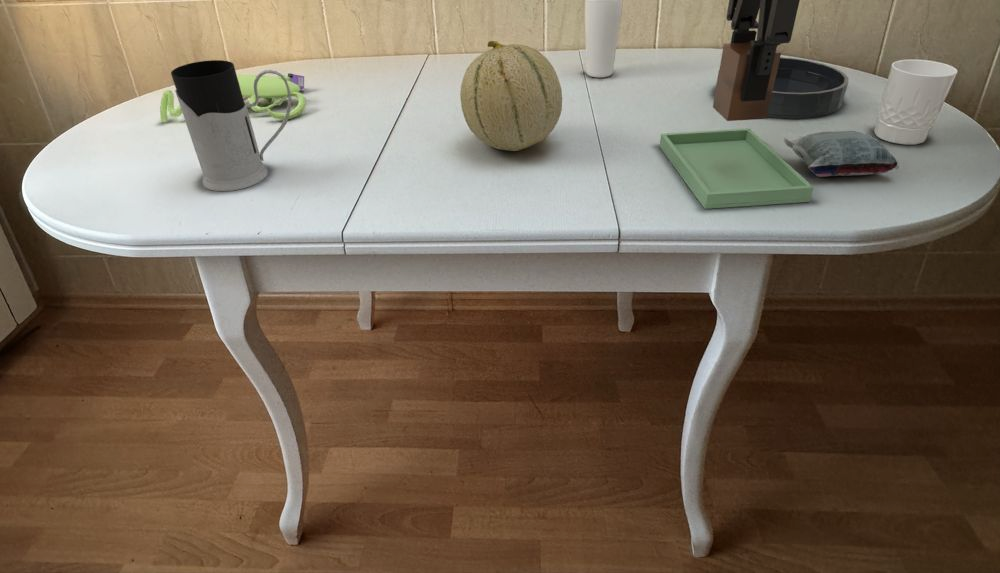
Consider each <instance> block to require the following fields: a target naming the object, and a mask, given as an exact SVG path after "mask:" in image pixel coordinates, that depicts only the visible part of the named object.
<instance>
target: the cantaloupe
mask: <svg viewBox="0 0 1000 573" xmlns="http://www.w3.org/2000/svg"><path fill="white" fill-rule="evenodd" d="M487 47H488V48H491V49H489V50H487V51H484V52H483V53H481V54H480V55H478V56H477V57H476V58H474V59H473V60H472V61H471V63H470V64H469V66H468V67H467V68H466V70H465V73H464V74H463V77H462V81H461V84H460V92H459V93H460V94H459V96H460V97H459V98H460V105H461V111H462V113H463V114H462V115H463V117H464V120H465V122H466V125H467V126H468V128H469V130H470V132H471V133H472V134H473V135H474V136H475V138H477V139H478V140H479V141H481V142H482V143H483V144H484V145H487V146H489V147H491V148H493V149H497V150H500V151H501V150H502V151H509V152H517V151H522V150H524V149H527V148H530V147H531V146H533V145H536V144H537V143H539V142H542V141H543V140H545V139H546V138H547V137H549V135H550V134H551V133H552V132H553V131H554V130H555V128H556V125H557V124H558V122H559V120H560V117H561V114H562V111H563V92H562V91H563V90H562V86H561V82H560V79H559V76H558V74H557V72H556V70H555V68H554V66H553V65H552V64H551V62H550V61H549V59H548V58H547V57H546V56H545V55H543V53H541V52H540V51H539V50H538V49H536V48H534V47H531V46H528V45H525V44H515V43H511V44H501V43H499V42H498V41H496V40H489V41H488V42H487Z"/></svg>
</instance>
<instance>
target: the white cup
mask: <svg viewBox="0 0 1000 573" xmlns="http://www.w3.org/2000/svg"><path fill="white" fill-rule="evenodd" d="M957 74H958V69H957V68H956V67H954V66H953V65H950V64H947V63H944V62H939V61H934V60H928V59H916V58H915V59H913V58H912V59H900V60H895V61H893V62H892V63H891V65H890V69H889V72H888V77H887V81H886V82H885V83H886V84H885V87H884V91H883V94H882V98H881V104H880V106H879V110H878V117H877V120H876V124H875V126H874V130H873V133H874V135H875V136H876V137H877V138H879V139H881V140H883V141H886V142H889V143H893V144H898V145H919V144H923V143H924V142H925V141H926V140H927V138H928V136H929V133H930V131H931V128H932V127H933V125H934V124H935V122H936V120H937V117H938V115H939V114H940V112H941V110H942V108H943V105H944V103H945V101H946V98H947V96H948V94H949V92H950V90H951V87H952V85H953V83H954V81H955V78H956V76H957Z"/></svg>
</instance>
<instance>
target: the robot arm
mask: <svg viewBox="0 0 1000 573" xmlns="http://www.w3.org/2000/svg"><path fill="white" fill-rule="evenodd" d="M799 6H800V0H728V6H727V12H726V21H728V22H729V21H730V28H731V30H733V31H732V33H731V38H730V43H748V42H750V45H751V50H750V55H749V60H748V65H747V70H746V75H745V80H744V85H743V90H742V95H741V100H742V101H757V100H765V97H766V93H767V88H768V84H769V79H770V75H771V71H772V66H773V62H774V57H775V53H776V50H777V48H778V46H780V45H783V44H789V43H790V42H791V40H792V36H793V32H794V27H795V24H796V19H797V14H798V9H799ZM757 17H758V21H757ZM755 29H757V31H756V30H755Z"/></svg>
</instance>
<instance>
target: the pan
mask: <svg viewBox="0 0 1000 573" xmlns="http://www.w3.org/2000/svg"><path fill="white" fill-rule="evenodd" d="M718 75H719V71H718V72H717V76H718ZM717 80H718V77H716V81H717ZM848 85H849V77H848V76H847V75H846V73H845V72H843V71H842V70H840V69H838V68H837V67H835V66H831V65H828V64H825V63H823V62H822V63H821V62H817V61H812V60H810V59H809V60H808V59H803V58H794V57H785V56H780V61H779V65H778V69H777V74H776V78H775V82H774V87H773V91H772V95H771V100H770V104H769V109H768V113H767V117H766V118H773V119H787V120H788V119H791V120H798V119H800V120H801V119H802V120H803V119H812V118H820V117H824V116H828V115H831V114H834V113H836V112H837V111H838V110H840V108H841V107H842V105H843V103H844V98H845V96H846V93H847V89H848ZM716 86H717V82H716V84H715V87H716ZM714 92H716V88H715V89H714Z"/></svg>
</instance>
